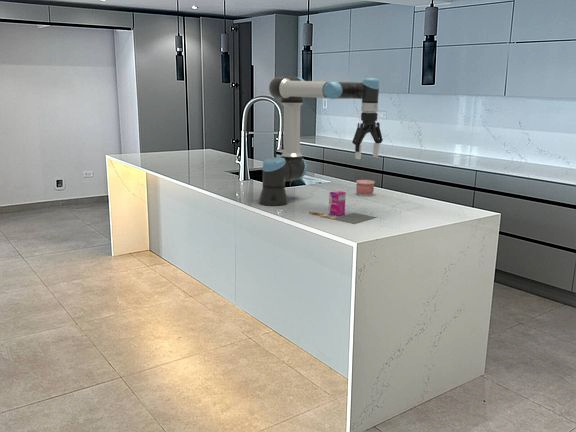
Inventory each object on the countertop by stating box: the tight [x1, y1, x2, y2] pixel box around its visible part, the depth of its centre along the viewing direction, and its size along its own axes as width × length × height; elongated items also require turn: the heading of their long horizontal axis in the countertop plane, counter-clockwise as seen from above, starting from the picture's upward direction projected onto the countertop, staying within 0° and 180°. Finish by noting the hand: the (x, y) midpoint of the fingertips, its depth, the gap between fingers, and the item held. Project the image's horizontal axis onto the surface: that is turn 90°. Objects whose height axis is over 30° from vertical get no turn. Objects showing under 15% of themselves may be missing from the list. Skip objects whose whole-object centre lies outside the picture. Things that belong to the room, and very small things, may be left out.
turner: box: [308, 210, 337, 220], centre depth 264 cm, size 16×3×1 cm, turn 48°
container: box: [355, 179, 376, 197], centre depth 318 cm, size 10×10×8 cm
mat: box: [332, 212, 378, 225], centre depth 261 cm, size 13×18×1 cm
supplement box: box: [328, 190, 347, 217], centre depth 266 cm, size 6×6×12 cm
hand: (366, 157), depth 264 cm, fingers open, 13 cm apart
